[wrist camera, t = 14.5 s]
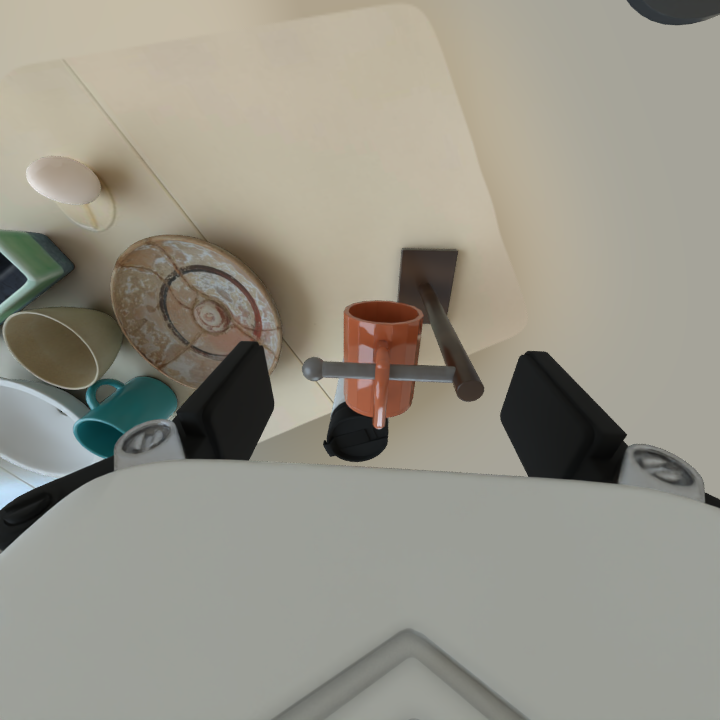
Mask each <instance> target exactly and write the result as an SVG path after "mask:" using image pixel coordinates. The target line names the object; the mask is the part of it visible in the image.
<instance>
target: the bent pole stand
mask: <svg viewBox="0 0 720 720" xmlns="http://www.w3.org/2000/svg"><path fill="white" fill-rule="evenodd" d="M457 255H458V251H457V250H456V249H415V248H402V251H401V263H400V276H399V289H398V301H397V302H400V303H405V304H408V305H412V306H415V307H416V308H418V309H420V310H421V311H422V313H423V315H424V317H423V324H431V326H432V329H433V332H434V334H435V337H436V340H437V342H438V345H439V348H440V350H441V353H442V356H443V359H444V361H445V364H446V366H428V365H403V364H390V374H389V380H397V381H422V382H445V383H453V385H454V388H455V391H456V393H457V396H458V397H459V398H460V399H461V400H463V401H467V402H471V401H475V400H477V399H478V398H480V397H481V396H482V394H483V392H484V386H483V384H482V382H481V380H480V378H479V377H478V375H477V373H476V371H475V369H474V367H473V365H472V363H471V361H470V359H469V357H468V355H467V353H466V352H465V350H464V348H463V346H462V344H461V342H460V340H459V338H458V336H457V334H456V332H455V330H454V328H453V327H452V325H451V323H450V321H449V319H448V317H447V312H448V307H449V301H450V295H451V289H452V284H453V278H454V272H455V266H456V261H457ZM375 368H376V363H352V362H327V361H323V360H322V359H320V358H318V357H311V358H309V359H307V360H306V361H305V362H304V364H303V366H302V372H303V374H304V376H305V377H306V378H307V379H308V380H311V381H318V380H320V379H322V378H323V377H325V378H349V379H373V380H375Z"/></svg>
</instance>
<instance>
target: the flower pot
mask: <svg viewBox="0 0 720 720" xmlns="http://www.w3.org/2000/svg"><path fill="white" fill-rule="evenodd" d="M2 331H3V338H4V341H5V343H6V346H7V347H8V349H9V351H10V352H11V354H12V355H13V357H14V358H15V359H16V360H17V361H18V362H19V363H20V364H21V365H22V366H23V367H24V368H25V369H26V370H28V371H29V372H30V373H31V374H33V375H34V376H36V377H38V378H39V379H41V380H43V381H44V382H47V383H49V384H51V385H54V386H57V387H60V388H64V389H70V390H80V389H85V388H88V387H90V386H91V385H93V384H94V383H95V382H96V381H98V380H99V379H100V378H101V377H102V376H103V375H104V374H105V372H106V371H107V370H108V369H109V368H110V366H111V365H112V363H113V362H114V360H115V358H116V356H117V354H118V352H119V350H120V347H121V343H122V338H123V334H122V330H121V328H120V326H119V325H118V323H117V322H116V321H115V320H114V319H113V318H112V317H110V316H109V315H107V314H105V313H103V312H100V311H96V310H91V309H85V308H75V307H48V308H38V309H32V310H26V311H21V312H17V313H14V314H12V315H10V316H9V317H8V318H7V319H6V320H5V322H4V324H3V330H2Z"/></svg>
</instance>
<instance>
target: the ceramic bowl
mask: <svg viewBox="0 0 720 720" xmlns="http://www.w3.org/2000/svg"><path fill="white" fill-rule="evenodd" d="M110 295H111V302H112V307H113V310H114V313H115V316H116V318H117V321H118V323H119V326H120V328H121V330H122V332H123V333H124V335H125V337H126V338H127V340H128V341H129V343H130V344H131V345H132V346H133V348H134V349H135V350H136V351H137V352H138V353H139V354H140V355H141V356H142V357H143V358H144V359H145V360H146V361H147V362H148V363H149V364H150V365H152V366H153V367H154V368H155V369H157V370H158V371H159V372H161V373H162V374H164V375H165V376H167V377H168V378H170V379H172V380H173V381H175V382H177V383H179V384H181V385H184V386H186V387H189V388H192V389H194V390H197V388H198V387H199V386H200V385H201V384H202V383H203V382H204V381H205V380H206V378H207V377H208V376H209V375H210V374H211V373H212V372H213V371H214V370H215V369H216V367H217V366H218V365H219V364H220V363H221V362H222V361H223V360H224V359H225V358H226V356H227V355H228V354H229V353H230V352H231V351H232V350H233V349H234V348H235V346H236V345H237V344H238V343H239V342H240V341H257V342H258V343H259V345H262V346H263V347H264V351H265V356H266V362H267V367H268V372H269V376H270V375H271V373H272V372H273V370H274V369H275V367H276V365H277V363H278V360H279V356H280V352H281V347H282V326H281V320H280V316H279V313H278V310H277V308H276V305H275V303H274V301H273V299H272V297H271V295H270V293H269V292H268V290H267V289H266V287H265V286H264V284H263V283H262V282H261V280H260V279H259V278H258V277H257V276H256V274H255V273H254V272H253V271H252V270H251V269H250V268H249V267H248V266H246V265H245V264H244V263H243V262H242V261H241V260H239V259H238V258H237V257H235V256H234V255H232V254H231V253H229V252H228V251H226V250H224V249H222V248H220V247H219V246H216V245H214V244H212V243H209V242H207V241H204V240H201V239H198V238H195V237H189V236H183V235H158V236H153V237H149V238H145V239H143V240H140V241H138V242H136V243H134V244H132V245H131V246H130V247H129V248H128V249H126V250H125V251H124V252H123V253H122V254H121V256H120V257H119V258H118V259H117V261H116V264H115V266H114V269H113V272H112V275H111V281H110Z"/></svg>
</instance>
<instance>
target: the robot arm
mask: <svg viewBox="0 0 720 720" xmlns="http://www.w3.org/2000/svg"><path fill="white" fill-rule="evenodd" d="M273 409H274V398H273V393H272V388H271V382H270V377H269V372H268V367H267V362H266V356H265V351H264V347H263V346H262V345H259V343H258V342H257V341H240V342H239V343H238V344H237V345H236V346H235V348H234V349H233V350H232V351H231V352H230V353H229V354H228V355H227V356H226V358H225V359H224V360H223V361H222V362H221V363H220V364H219V365H218V366H217V367H216V369H215V370H214V371H213V372H212V373H211V374H210V375H209V376H208V377H207V378H206V380H205V381H204V382H203V383H202V384H201V385H200V386H199V387H198V388H197V390H196V391H195V392H194V393H193V394H192V395H191V396H190V397H189V398H188V399H187V401H186V402H185V403H184V404H183V405H182V406H181V407H180V408H179V409H178V410H177V412H176V413H177V416H176V417H175V418H174V419H173V420H172V421H170V420H166V419H157V420H151V421H147V422H144V423H142V424H139V425H137V426H135V427H133V428H132V429H130V430H128V431H127V432H126V433H124V434H123V435H122V436H121V437H120V438H119V439H118V441H117V442H116V444H115V447H114V455H113V456H111V457H108V458H106V459H103V460H101V461H99V462H96V463H94V464H92V465H89V466H87V467H85V468H82V469H80V470H78V471H75V472H73V473H71V474H68V475H66V476H64V477H61V478H59V479H56V480H54V481H52V482H49V483H47V484H45V485H42V486H40V487H38V488H35V489H33V490H31V491H29V492H27V493H25V494H23V495H21V496H19V497H17V498H16V499H14V500H13V501H12V502H10V503H8V504H7V505H6V506H5V507H4V508H2V509H1V510H0V720H720V500H719V499H718V498H715V497H713V496H711V495H709V494H707V493H705V491H704V482H703V479H702V477H701V476H700V474H699V473H698V472H697V471H696V470H695V469H694V468H693V467H692V466H691V465H690V464H688V463H687V462H686V461H684V460H683V459H681V458H679V457H678V456H676V455H674V454H672V453H670V452H668V451H666V450H663V449H661V448H658V447H655V446H651V445H646V444H633V445H631V446H628V445H627V444H626V443H625V442H624V441H623V440H624V439H625V437H626V436H627V434H626V433H625V432H624V431H623V430H622V429H621V428H620V427H619V426H618V425H617V424H616V423H615V422H614V421H613V420H612V419H611V418H610V417H609V416H608V414H607V413H606V412H605V411H604V410H603V409H602V408H601V407H600V406H599V405H598V404H597V403H596V402H595V401H594V400H593V399H592V398H591V397H590V396H589V395H588V394H587V393H586V392H585V391H584V390H583V389H582V388H581V387H580V386H579V385H578V384H577V383H576V382H575V381H574V380H573V379H572V378H571V376H569V374H568V373H567V372H566V371H565V370H564V369H563V368H562V367H561V366H560V365H559V364H558V363H557V362H556V361H555V360H554V359H553V358H552V357H551V356H550V355H549V354H548V353H547V352H540V351H527V352H526V353H525V354H524V355H521V356H520V357H519V359H518V362H517V365H516V368H515V371H514V374H513V377H512V380H511V383H510V386H509V389H508V392H507V395H506V398H505V401H504V404H503V407H502V410H501V414H500V417H501V422H502V424H503V426H504V428H505V430H506V432H507V434H508V436H509V438H510V440H511V442H512V444H513V446H514V448H515V450H516V453H517V454H518V457H519V459H520V461H521V463H522V465H523V466H524V469H525V471H526V472H527V475H528V477H523V476H507V475H492V474H491V475H490V474H476V473H461V472H445V471H444V472H443V471H428V470H411V469H395V468H378V467H361V466H343V465H323V464H305V463H287V462H268V461H249V459H250V457H251V455H252V453H253V451H254V449H255V447H256V445H257V443H258V441H259V439H260V437H261V435H262V433H263V431H264V428H265V426H266V424H267V422H268V420H269V418H270V416H271V414H272V412H273Z"/></svg>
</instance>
